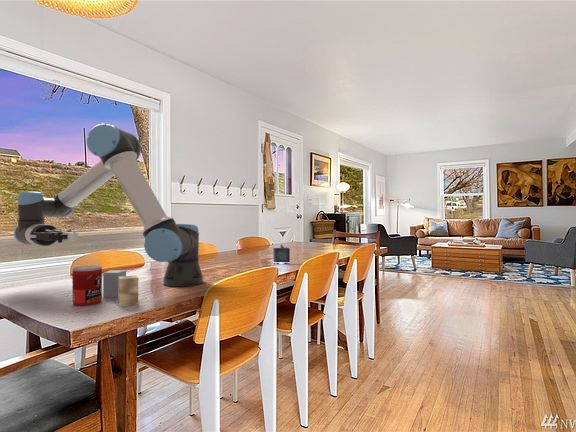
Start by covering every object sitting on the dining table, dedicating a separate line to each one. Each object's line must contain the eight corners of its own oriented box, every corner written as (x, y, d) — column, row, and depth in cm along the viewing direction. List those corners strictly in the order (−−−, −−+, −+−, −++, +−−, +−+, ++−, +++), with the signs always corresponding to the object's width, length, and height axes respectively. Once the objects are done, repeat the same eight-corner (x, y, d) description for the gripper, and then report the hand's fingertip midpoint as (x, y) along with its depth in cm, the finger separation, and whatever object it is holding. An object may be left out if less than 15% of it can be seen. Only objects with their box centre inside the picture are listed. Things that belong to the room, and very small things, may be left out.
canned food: (89, 307, 100) (89, 269, 100) (65, 305, 101) (65, 268, 101) (107, 300, 107) (107, 265, 107) (85, 299, 109) (85, 264, 109)
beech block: (135, 300, 107) (135, 275, 107) (138, 304, 103) (138, 277, 103) (118, 302, 105) (118, 276, 105) (120, 306, 100) (120, 279, 100)
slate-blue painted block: (126, 293, 117) (126, 270, 117) (118, 297, 112) (118, 272, 112) (111, 293, 117) (111, 270, 117) (103, 296, 112) (103, 272, 112)
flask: (272, 264, 189) (272, 244, 189) (273, 263, 192) (273, 244, 192) (289, 264, 188) (289, 244, 188) (290, 263, 191) (290, 244, 191)
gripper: (62, 244, 127) (96, 247, 114) (20, 246, 116) (52, 250, 103) (62, 223, 127) (96, 224, 114) (20, 224, 116) (52, 225, 103)
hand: (75, 237), depth 108 cm, fingers closed
